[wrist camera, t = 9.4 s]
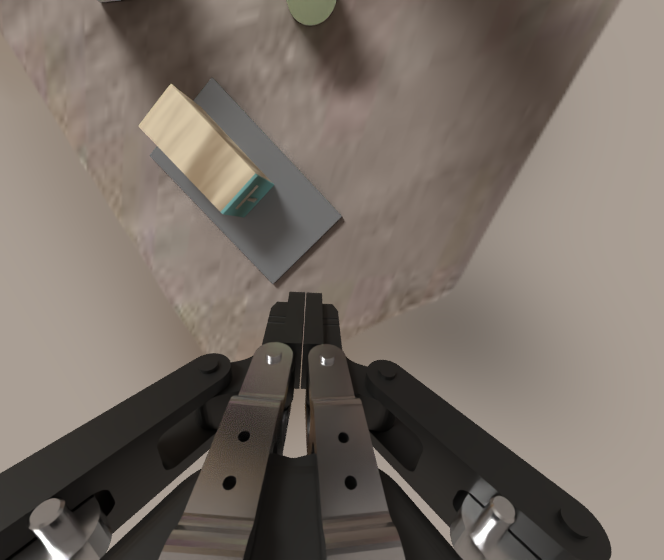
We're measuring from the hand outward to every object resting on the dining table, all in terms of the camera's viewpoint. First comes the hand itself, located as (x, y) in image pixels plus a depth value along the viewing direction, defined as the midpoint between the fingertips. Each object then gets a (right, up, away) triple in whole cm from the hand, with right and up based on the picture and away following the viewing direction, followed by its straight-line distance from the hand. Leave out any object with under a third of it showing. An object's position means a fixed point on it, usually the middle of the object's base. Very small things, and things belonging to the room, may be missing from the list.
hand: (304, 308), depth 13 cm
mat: (-8, +12, +19) cm, 24 cm away
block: (-7, +10, +16) cm, 20 cm away
